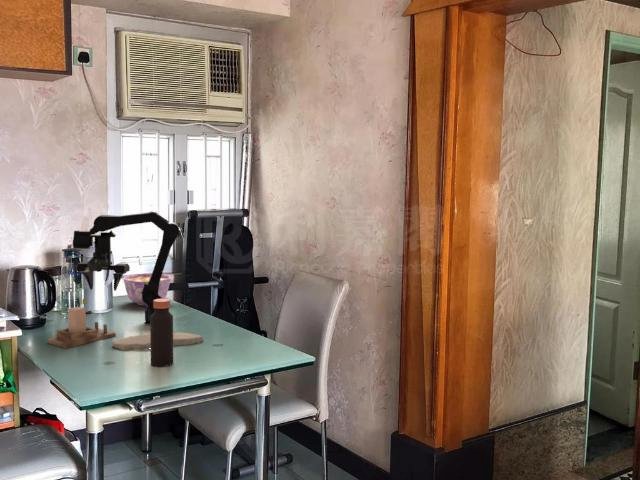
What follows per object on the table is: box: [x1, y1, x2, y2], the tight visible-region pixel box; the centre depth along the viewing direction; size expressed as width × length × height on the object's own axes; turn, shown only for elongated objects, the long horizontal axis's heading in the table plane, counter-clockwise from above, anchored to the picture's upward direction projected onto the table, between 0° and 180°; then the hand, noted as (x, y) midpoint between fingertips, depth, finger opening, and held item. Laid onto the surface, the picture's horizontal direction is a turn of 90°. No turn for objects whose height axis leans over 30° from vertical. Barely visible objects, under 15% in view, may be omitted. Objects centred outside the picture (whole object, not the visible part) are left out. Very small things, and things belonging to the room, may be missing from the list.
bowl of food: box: [123, 273, 172, 307], centre depth 290 cm, size 20×20×12 cm
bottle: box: [149, 298, 174, 368], centre depth 205 cm, size 7×7×20 cm
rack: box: [47, 321, 117, 349], centre depth 232 cm, size 20×10×4 cm, turn 144°
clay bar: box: [67, 306, 87, 334], centre depth 230 cm, size 4×4×10 cm
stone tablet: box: [111, 331, 203, 351], centre depth 231 cm, size 16×30×2 cm, turn 120°
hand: (103, 290), depth 252 cm, fingers open, 9 cm apart
